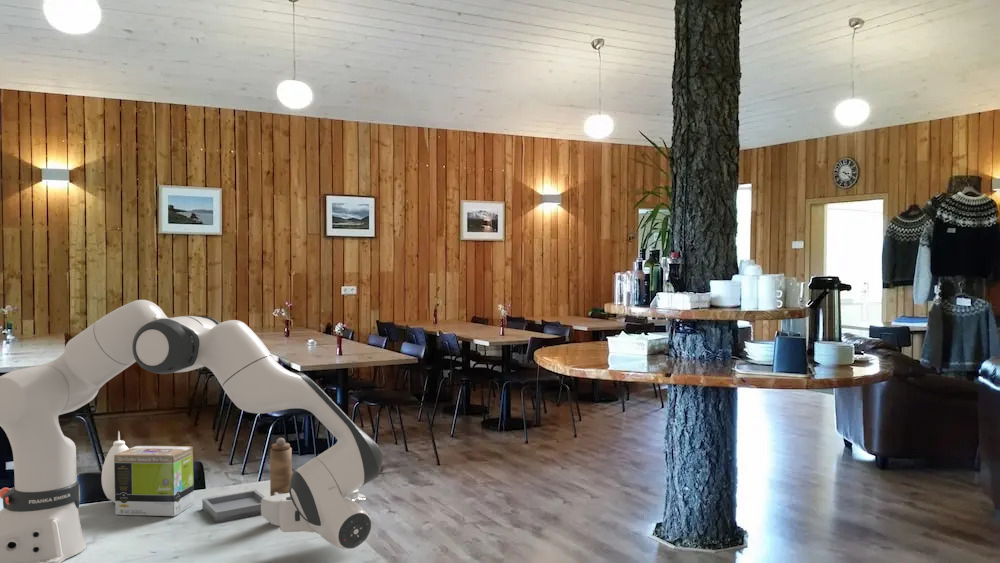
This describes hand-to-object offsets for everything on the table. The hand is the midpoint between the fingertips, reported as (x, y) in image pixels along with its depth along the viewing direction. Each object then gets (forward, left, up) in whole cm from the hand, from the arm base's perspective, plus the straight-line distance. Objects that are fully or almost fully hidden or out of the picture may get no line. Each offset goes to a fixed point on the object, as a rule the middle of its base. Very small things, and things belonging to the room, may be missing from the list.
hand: (298, 491), depth 168 cm
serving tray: (-6, +25, -10) cm, 28 cm away
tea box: (-22, +37, -10) cm, 44 cm away
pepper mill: (0, +11, -10) cm, 15 cm away
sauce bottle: (-28, +48, -10) cm, 57 cm away
